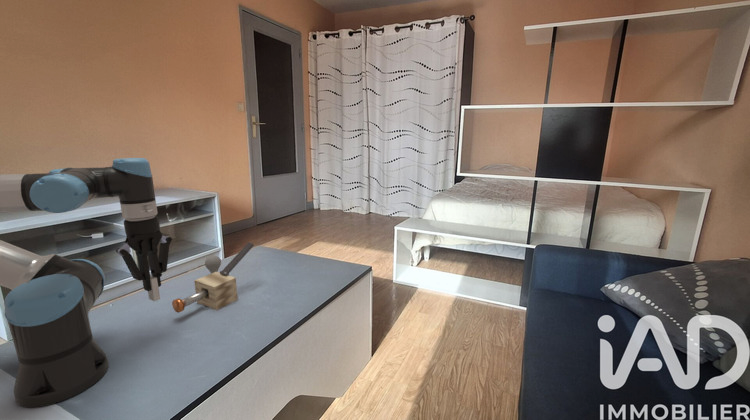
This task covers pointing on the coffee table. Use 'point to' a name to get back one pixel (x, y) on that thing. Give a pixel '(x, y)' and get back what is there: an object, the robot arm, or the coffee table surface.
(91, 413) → the coffee table surface
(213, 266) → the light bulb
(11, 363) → the coffee table surface
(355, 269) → the coffee table surface
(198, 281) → the block
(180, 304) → the pin
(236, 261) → the bar
